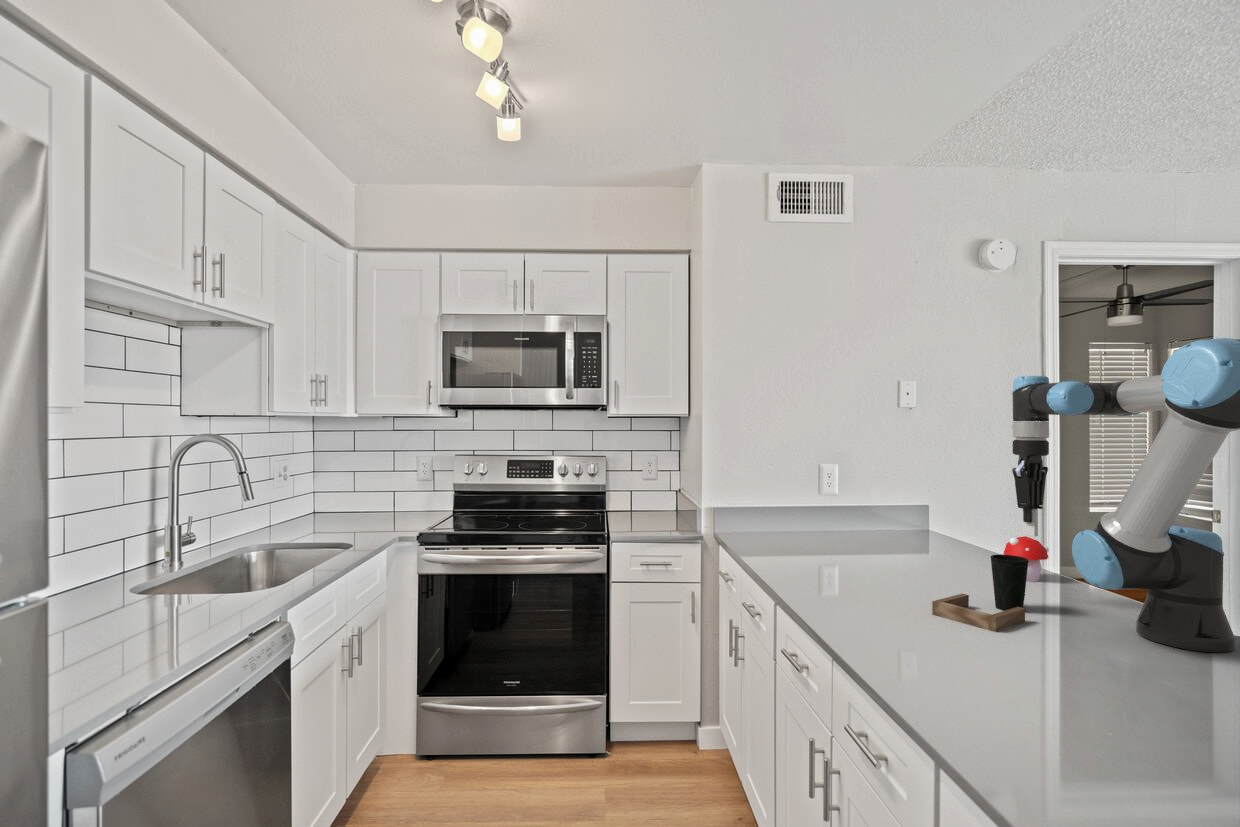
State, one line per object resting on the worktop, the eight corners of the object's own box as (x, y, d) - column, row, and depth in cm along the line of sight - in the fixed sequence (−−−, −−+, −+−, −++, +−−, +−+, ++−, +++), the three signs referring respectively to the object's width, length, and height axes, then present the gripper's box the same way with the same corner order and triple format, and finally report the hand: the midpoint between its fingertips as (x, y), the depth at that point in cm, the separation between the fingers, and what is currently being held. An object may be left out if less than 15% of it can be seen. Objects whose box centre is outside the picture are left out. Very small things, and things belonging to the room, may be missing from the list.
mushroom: (1035, 574, 186) (1035, 533, 186) (1057, 584, 175) (1057, 540, 175) (996, 573, 187) (996, 532, 187) (1015, 583, 176) (1016, 539, 176)
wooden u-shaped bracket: (1025, 621, 142) (1025, 608, 142) (995, 631, 135) (995, 617, 135) (962, 606, 154) (962, 593, 154) (932, 614, 147) (932, 601, 147)
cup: (1034, 614, 148) (1034, 562, 148) (997, 612, 149) (997, 560, 149) (1020, 605, 155) (1020, 555, 155) (985, 603, 157) (985, 553, 157)
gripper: (1027, 438, 164) (1027, 530, 164) (1000, 439, 157) (1000, 535, 157) (1060, 439, 158) (1059, 535, 158) (1033, 440, 151) (1033, 540, 151)
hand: (1030, 535), depth 158 cm, fingers closed
